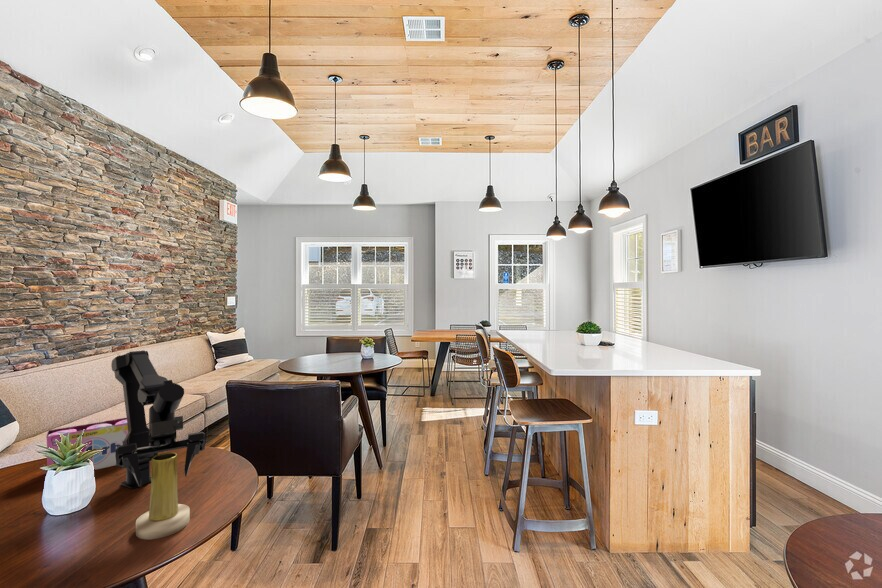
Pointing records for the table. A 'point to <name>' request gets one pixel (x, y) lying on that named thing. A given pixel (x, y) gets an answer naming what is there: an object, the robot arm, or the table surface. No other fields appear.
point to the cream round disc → (162, 524)
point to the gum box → (94, 439)
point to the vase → (163, 487)
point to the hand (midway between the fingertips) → (163, 480)
